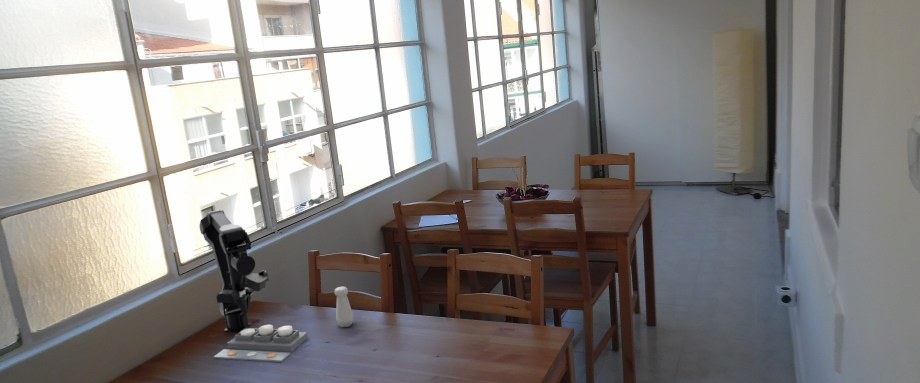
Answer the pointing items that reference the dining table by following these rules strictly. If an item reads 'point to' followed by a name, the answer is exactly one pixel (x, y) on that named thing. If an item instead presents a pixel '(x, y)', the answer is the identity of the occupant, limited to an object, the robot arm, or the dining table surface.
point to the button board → (268, 341)
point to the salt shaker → (343, 308)
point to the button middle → (266, 330)
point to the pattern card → (252, 355)
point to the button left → (247, 332)
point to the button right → (285, 331)
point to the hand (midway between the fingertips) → (246, 313)
